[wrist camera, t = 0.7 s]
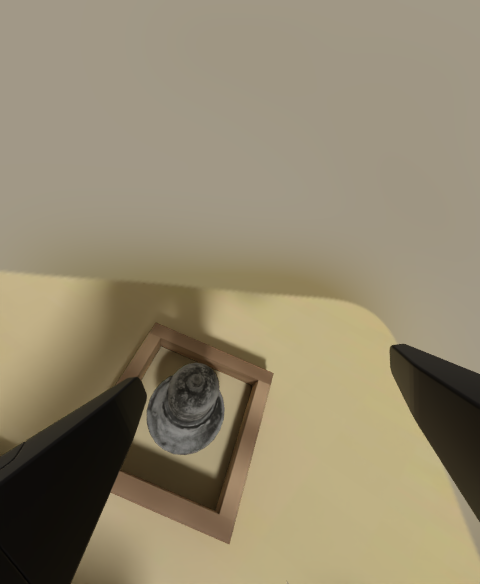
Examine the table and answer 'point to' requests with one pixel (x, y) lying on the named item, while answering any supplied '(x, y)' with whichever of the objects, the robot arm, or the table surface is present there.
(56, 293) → the table surface
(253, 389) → the frame
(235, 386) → the table surface
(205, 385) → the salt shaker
